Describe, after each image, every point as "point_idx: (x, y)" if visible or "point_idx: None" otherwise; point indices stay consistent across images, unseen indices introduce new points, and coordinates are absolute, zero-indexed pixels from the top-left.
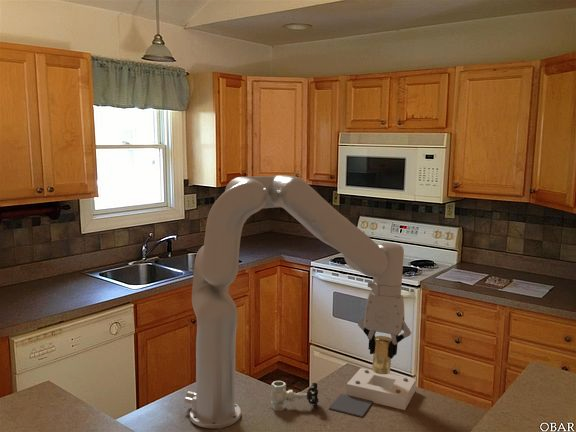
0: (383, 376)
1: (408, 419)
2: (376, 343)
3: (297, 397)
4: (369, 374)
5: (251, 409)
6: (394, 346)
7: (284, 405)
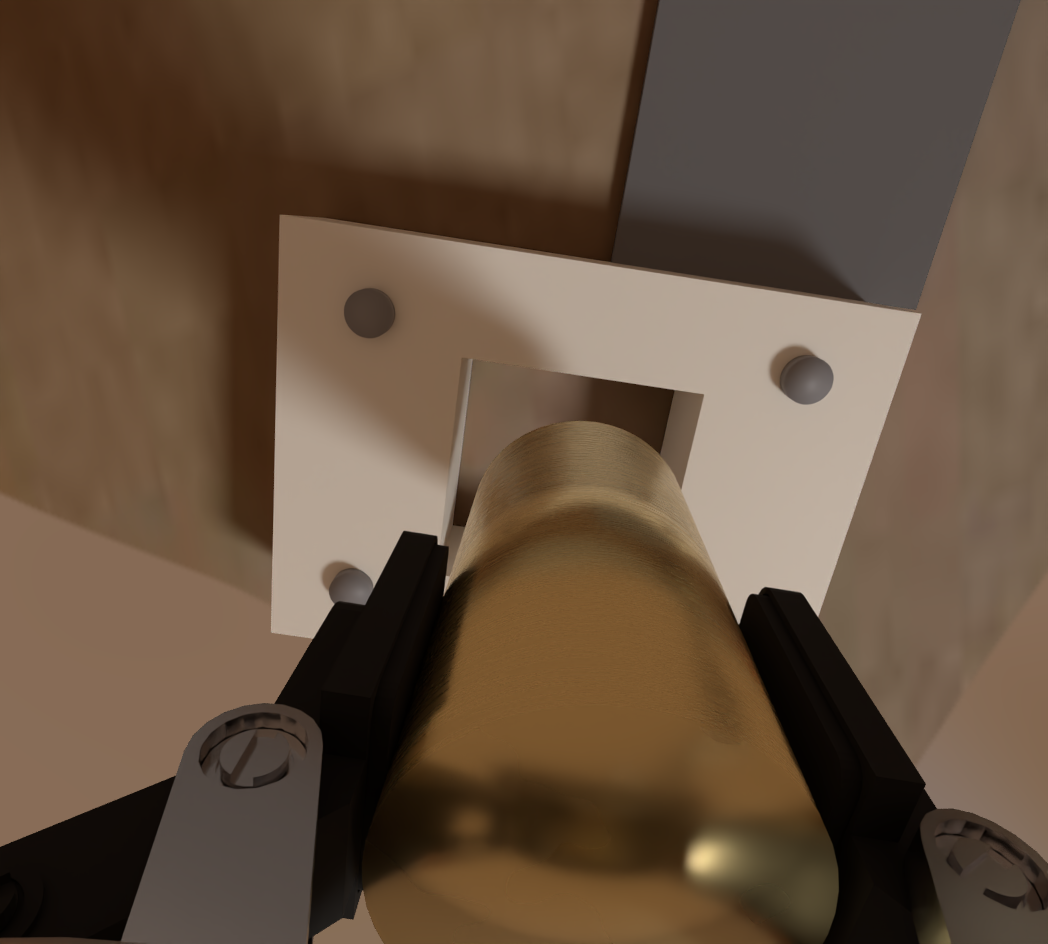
0: None
1: (260, 41)
2: (747, 700)
3: None
4: None
5: None
6: (311, 703)
7: None
